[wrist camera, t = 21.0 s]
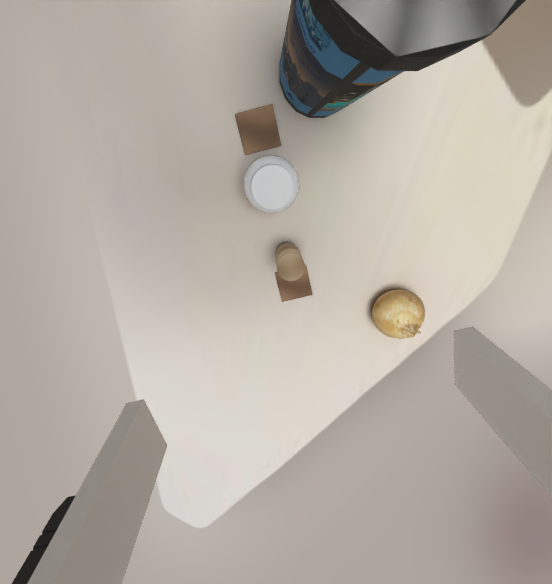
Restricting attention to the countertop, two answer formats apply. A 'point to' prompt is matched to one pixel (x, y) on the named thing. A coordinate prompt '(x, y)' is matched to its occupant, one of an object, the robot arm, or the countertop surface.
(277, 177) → the pill bottle
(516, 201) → the countertop surface
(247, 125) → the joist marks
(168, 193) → the countertop surface
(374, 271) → the countertop surface
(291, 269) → the tan wooden cylinder
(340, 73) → the advertising column
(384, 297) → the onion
